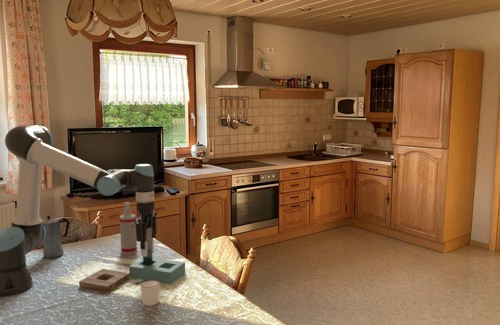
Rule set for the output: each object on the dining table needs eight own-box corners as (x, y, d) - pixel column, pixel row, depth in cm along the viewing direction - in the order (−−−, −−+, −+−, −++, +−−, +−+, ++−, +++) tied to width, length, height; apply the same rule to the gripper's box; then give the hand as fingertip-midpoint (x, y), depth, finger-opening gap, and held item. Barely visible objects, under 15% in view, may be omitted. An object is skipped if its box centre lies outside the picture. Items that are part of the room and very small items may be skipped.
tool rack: (170, 284, 172) (170, 272, 171) (129, 277, 179) (129, 266, 178) (185, 273, 183) (184, 262, 182) (145, 267, 190) (145, 256, 189)
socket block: (108, 292, 164) (107, 286, 164) (79, 287, 169) (79, 281, 169) (130, 278, 177) (129, 273, 177) (102, 274, 182) (102, 268, 182)
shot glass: (152, 295, 161) (151, 278, 160) (163, 301, 157) (163, 283, 156) (137, 302, 156) (136, 284, 155) (148, 307, 152) (148, 289, 151)
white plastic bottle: (121, 249, 213) (119, 201, 210) (136, 248, 215) (134, 200, 212) (121, 254, 206) (119, 204, 202) (137, 253, 208) (135, 203, 205)
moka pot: (37, 254, 206) (34, 214, 204) (71, 250, 213) (68, 211, 210) (36, 261, 198) (33, 219, 195) (71, 256, 204) (69, 215, 202)
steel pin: (149, 265, 179) (147, 229, 177) (141, 264, 180) (139, 228, 178) (154, 262, 183) (153, 226, 181) (146, 261, 184) (145, 225, 182)
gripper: (141, 206, 169) (143, 262, 172) (163, 197, 185) (165, 248, 188) (125, 204, 171) (128, 259, 175) (149, 196, 187) (151, 246, 190)
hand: (147, 254), depth 181 cm, fingers closed on steel pin, 4 cm apart
